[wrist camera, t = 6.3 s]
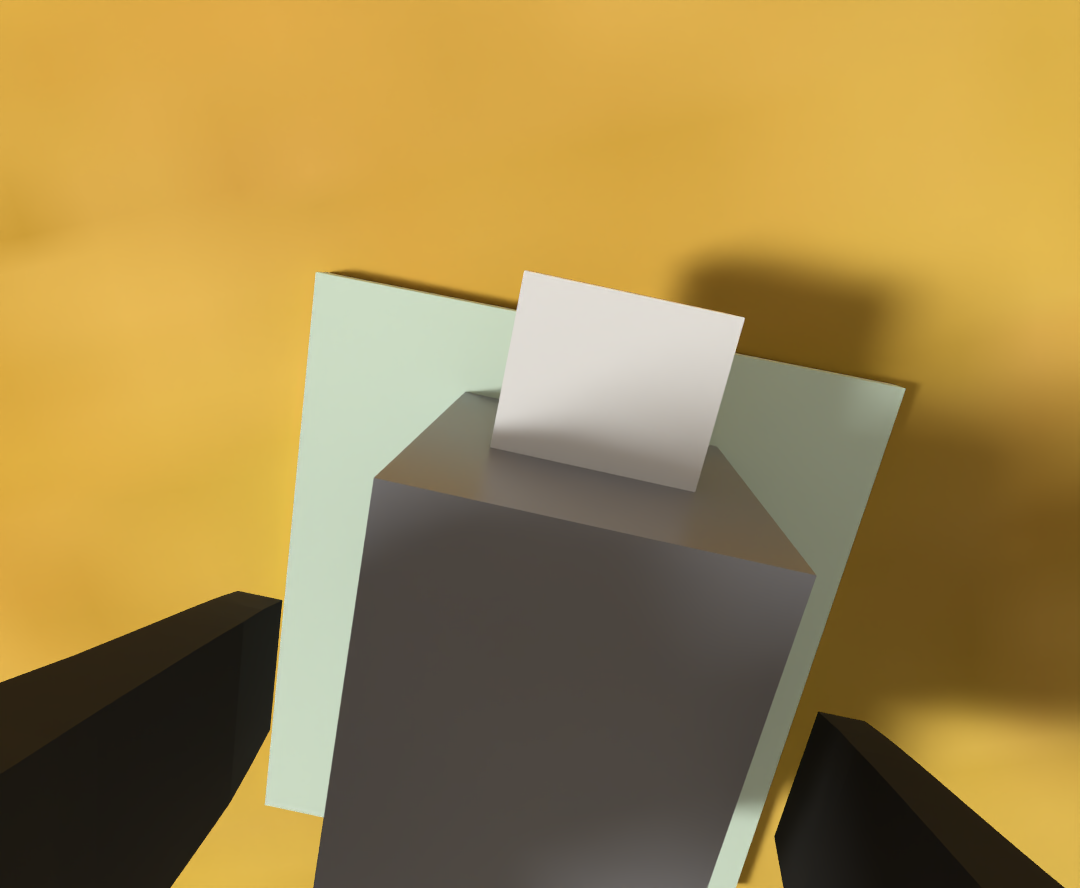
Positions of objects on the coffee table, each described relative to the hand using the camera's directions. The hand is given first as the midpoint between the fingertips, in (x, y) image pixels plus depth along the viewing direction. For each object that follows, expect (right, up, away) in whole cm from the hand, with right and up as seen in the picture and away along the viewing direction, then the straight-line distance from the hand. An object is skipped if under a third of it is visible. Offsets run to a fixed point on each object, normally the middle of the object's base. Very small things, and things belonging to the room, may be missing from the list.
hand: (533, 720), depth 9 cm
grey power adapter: (0, +1, +2) cm, 3 cm away
